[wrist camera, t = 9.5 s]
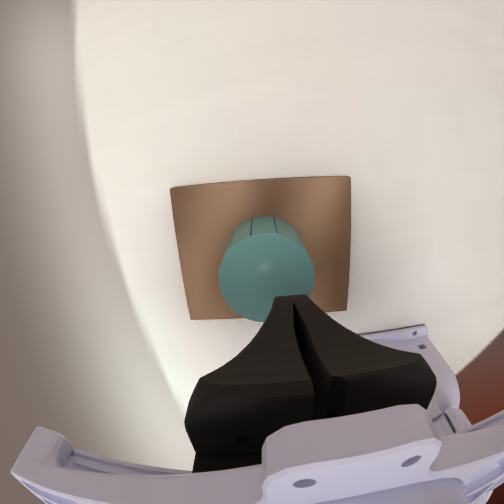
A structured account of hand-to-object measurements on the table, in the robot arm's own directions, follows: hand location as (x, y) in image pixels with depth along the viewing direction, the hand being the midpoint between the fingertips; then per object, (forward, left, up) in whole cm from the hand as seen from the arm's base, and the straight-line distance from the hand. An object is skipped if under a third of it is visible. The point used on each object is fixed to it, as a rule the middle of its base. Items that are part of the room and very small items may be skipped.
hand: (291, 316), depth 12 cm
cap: (+1, 0, -9) cm, 9 cm away
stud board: (+1, 0, -9) cm, 9 cm away
